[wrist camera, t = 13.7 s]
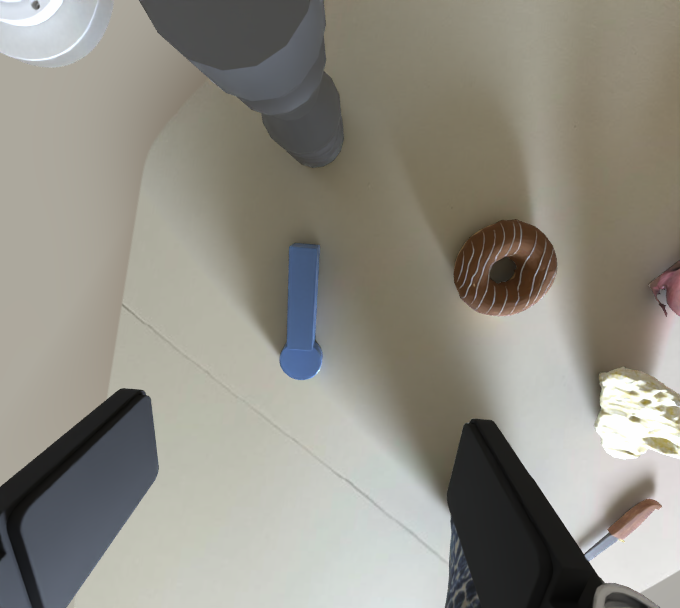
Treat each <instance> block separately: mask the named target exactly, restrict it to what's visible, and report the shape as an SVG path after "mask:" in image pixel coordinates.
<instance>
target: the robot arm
mask: <svg viewBox="0 0 680 608" xmlns="http://www.w3.org/2000/svg"><path fill="white" fill-rule="evenodd" d="M62 2H63V0H0V21H2V22H5V23H8V24H11V25H15V26H32V25H37V24H39V23H41V22H44V21H46V20H47V19H49V18H50V17H51V16H52V15H53V14H55V12H56V11H57V10H58V8H59V7H60V6H61V4H62ZM158 469H159V465H158V457H157V448H156V440H155V431H154V423H153V414H152V405H151V399H150V397H149V396H147V395H146V393H145V392H144V391H143V390H137V389H125V388H123V389H120V390H118V391H117V392H115V393H114V394H113V395H112V396H111V397H109V398H108V399H107V400H106V401H104V402H103V403H102V404H101V405H100V406H98V407H97V408H96V409H95V410H93V411H92V412H91V413H90V414H89V415H87V416H86V417H85V418H84V419H83V420H81V421H80V422H79V423H78V424H76V425H75V426H74V427H73V428H71V429H70V430H69V431H68V432H67V433H65V434H64V435H63V436H62V437H60V438H59V439H58V440H57V441H56V442H54V443H53V444H52V445H51V446H50V447H48V448H47V449H46V450H45V451H44V452H42V453H41V454H40V455H39V456H37V457H36V458H35V459H34V460H33V461H31V462H30V463H29V464H28V465H26V466H25V467H24V468H23V469H21V470H20V471H19V472H18V473H16V474H15V475H14V476H13V477H12V478H10V479H9V480H8V481H7V482H5V483H4V484H3V485H2V486H1V487H0V608H66V607H67V606H68V605H69V603H70V602H71V600H72V599H73V597H74V596H75V594H76V593H77V592H78V590H79V589H80V587H81V586H82V584H83V583H84V581H85V580H86V579H87V577H88V576H89V574H90V573H91V571H92V570H93V569H94V567H95V566H96V564H97V563H98V561H99V560H100V558H101V557H102V556H103V554H104V553H105V551H106V550H107V548H108V547H109V546H110V544H111V543H112V541H113V540H114V538H115V537H116V535H117V534H118V533H119V531H120V530H121V528H122V527H123V525H124V524H125V522H126V521H127V520H128V518H129V517H130V515H131V514H132V512H133V511H134V510H135V508H136V507H137V505H138V504H139V502H140V501H141V499H142V498H143V497H144V495H145V494H146V492H147V491H148V489H149V488H150V486H151V485H152V484H153V482H154V481H155V479H156V477H157V474H158ZM447 502H448V506H449V510H450V513H451V516H452V519H453V522H454V525H455V528H456V531H457V534H458V537H459V540H460V543H461V546H462V549H463V552H464V555H465V558H466V561H467V564H468V567H469V570H470V573H471V576H472V579H473V582H474V585H475V588H476V592H477V595H478V598H479V601H480V604H481V607H482V608H660V607H659V606H658V605H656V604H655V603H653V602H652V601H651V600H649V599H648V598H646V597H645V596H644V595H642V594H640V593H638V592H636V591H634V590H633V589H631V588H629V587H626V586H623V585H619V584H616V583H604V584H603V582H602V581H601V579H600V578H599V576H598V575H597V573H596V572H595V570H594V569H593V567H592V566H591V564H590V563H589V561H588V560H587V558H586V557H585V555H584V554H583V552H582V551H581V549H580V548H579V546H578V545H577V543H576V542H575V540H574V539H573V538H572V536H571V535H570V533H569V532H568V530H567V529H566V527H565V526H564V524H563V523H562V521H561V520H560V518H559V517H558V515H557V514H556V512H555V511H554V509H553V508H552V506H551V505H550V503H549V502H548V500H547V499H546V497H545V496H544V494H543V493H542V491H541V490H540V488H539V487H538V485H537V484H536V482H535V481H534V479H533V478H532V477H531V476H530V475H529V473H528V472H527V470H526V469H525V467H524V466H523V464H522V463H521V461H520V460H519V458H518V457H517V455H516V454H515V452H514V451H513V449H512V448H511V446H510V445H509V443H508V442H507V440H506V439H505V437H504V436H503V434H502V433H501V431H500V430H499V428H498V427H497V425H496V424H495V423H494V421H492V420H482V419H471V421H470V422H469V423H466V424H464V427H463V430H462V434H461V438H460V442H459V446H458V450H457V455H456V459H455V463H454V467H453V471H452V475H451V479H450V483H449V487H448V491H447Z"/></svg>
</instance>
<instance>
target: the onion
mask: <svg viewBox="0 0 680 608" xmlns="http://www.w3.org/2000/svg"><path fill="white" fill-rule="evenodd" d="M648 285H649V286H650V288H651V290H652V292H653V294H654V296H655V298H656V300H657V301H658V302H659V300H658V299H657V297H656V296H657V294H660V289H661V290H663V289H664V290H667V293H666V299H667V304H668V305H669V307H670V308H671V309H672V311H674V312H675V313H676V314H677V315H678V316H680V260H679V261H678V262H677V263H675V264H674V265H673V266H671V267H670V268H669V269H668V270H666V271H665V272H664V273H662V274H661V275H660V276H659V277H657V278H656V279H655V280H653V281H652V282H651V283H650V284H648ZM659 303H660V302H659ZM659 305H660V306H661V307H662V309H663V311H664V313H665V315H666V317H667V312H666V310H665V307H666V305H664V304H662V303H660V304H659Z"/></svg>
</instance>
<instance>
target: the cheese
mask: <svg viewBox="0 0 680 608" xmlns="http://www.w3.org/2000/svg"><path fill="white" fill-rule="evenodd" d="M599 381H600V382H601V383H600V386H601V389H602V390H601V393H600V405H601V410H600V412H599V414H598V418H597V420H596V421H595V424H594V426H595V429H596V431H597V433H598V434H600V436H601V444H602V446H603V447H604V449H605V451H606V452H607V453H609V454H611V455H612V456H613V457H616V458H622V459H628V458H639V457H640V455H641V454H642V453H645V452H646V451H647V448H649V449H652V450H655V451H657V452H659V453H661V454H664V455H668V456H672V457H675V458H679V459H680V395H679V394H678V393H676V392H675V391H673V390H672V389H670V388H668V387H666V386H665V385H664V384H663V383H661V382H660V381H658V380H657V379H656V378H655V377H652V376H650V375H648V374H645V373H643V372H641V371H639V370H631V369H626V367H621V368H618V369H615V370H612V371H610V372H606V373H604V372H602V373H600V374H599Z"/></svg>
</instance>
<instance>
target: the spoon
mask: <svg viewBox="0 0 680 608" xmlns="http://www.w3.org/2000/svg"><path fill="white" fill-rule="evenodd" d="M319 256H320V245H314V244H301V243H294V244H292V245H291V246H289V275H288V314H287V343H286V344H285V346H284V348H283V350H282V352H281V354H280V365H281V368H282V370H283V371H284V372H285V373H286V374H287V375H288V376H289V377H291V378H294V379H297V380H306V379H309V378H312V377H313V376H315V375H316V374H317V373H318V371H319V370H320V367H321V363H322V357H323V355H322V350H321V348H320V346H319V345H318V344H317V343H316V342H315V329H316V311H317V293H318V274H319Z"/></svg>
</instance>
